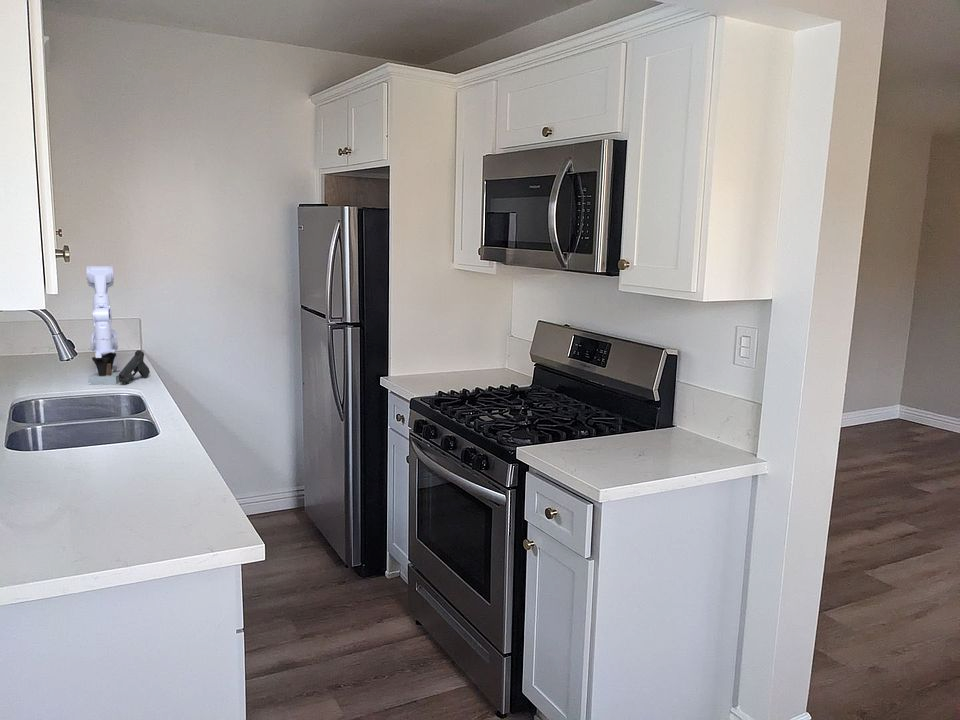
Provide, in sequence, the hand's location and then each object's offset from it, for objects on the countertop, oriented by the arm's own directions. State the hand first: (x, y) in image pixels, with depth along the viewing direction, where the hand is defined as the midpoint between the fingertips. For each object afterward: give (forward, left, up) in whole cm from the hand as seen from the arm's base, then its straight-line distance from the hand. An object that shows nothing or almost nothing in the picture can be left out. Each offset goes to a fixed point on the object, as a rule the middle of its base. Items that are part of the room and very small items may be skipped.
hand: (105, 373), depth 293 cm
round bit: (-7, 0, -3) cm, 8 cm away
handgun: (-1, +10, -4) cm, 11 cm away
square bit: (0, 0, -3) cm, 3 cm away
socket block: (0, 0, -3) cm, 3 cm away
